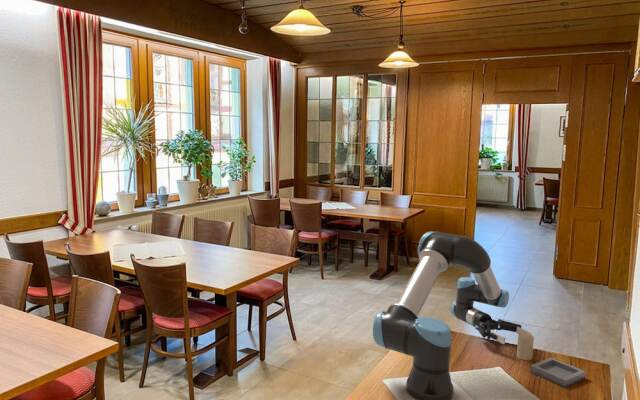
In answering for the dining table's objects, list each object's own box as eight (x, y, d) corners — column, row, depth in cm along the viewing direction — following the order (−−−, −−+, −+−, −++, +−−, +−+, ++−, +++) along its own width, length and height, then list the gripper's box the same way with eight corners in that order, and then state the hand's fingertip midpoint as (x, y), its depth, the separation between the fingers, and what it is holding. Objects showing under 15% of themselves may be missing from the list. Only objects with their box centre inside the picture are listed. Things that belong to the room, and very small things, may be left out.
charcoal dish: (565, 387, 164) (565, 380, 164) (530, 371, 175) (530, 365, 174) (585, 378, 171) (585, 371, 171) (550, 363, 182) (550, 357, 182)
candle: (524, 353, 190) (526, 329, 189) (535, 359, 185) (537, 334, 184) (513, 355, 188) (515, 330, 187) (524, 361, 183) (526, 336, 182)
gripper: (500, 324, 215) (539, 342, 196) (455, 331, 205) (492, 352, 186) (501, 308, 214) (541, 325, 195) (456, 314, 204) (493, 333, 185)
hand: (517, 338), depth 190 cm, fingers open, 13 cm apart
